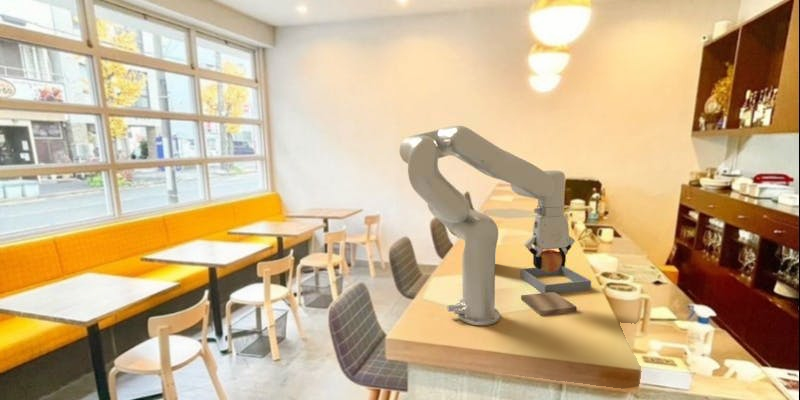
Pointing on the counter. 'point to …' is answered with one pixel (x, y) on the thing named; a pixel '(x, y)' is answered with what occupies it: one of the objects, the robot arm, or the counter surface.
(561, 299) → the board
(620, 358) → the counter surface
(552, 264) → the apple
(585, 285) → the bin
